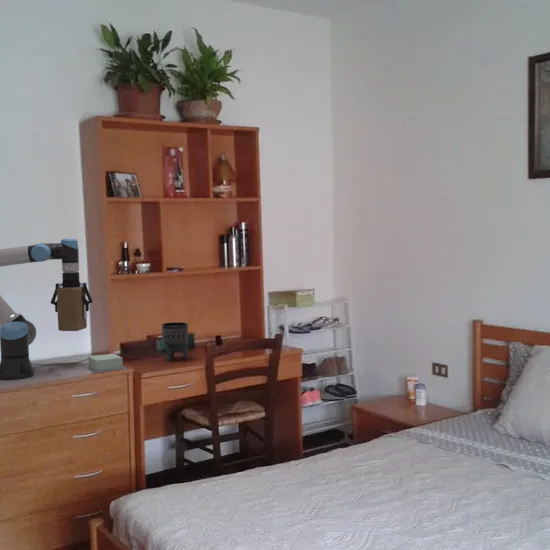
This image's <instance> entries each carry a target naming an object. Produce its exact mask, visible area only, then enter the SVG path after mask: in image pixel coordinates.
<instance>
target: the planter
mask: <svg viewBox="0 0 550 550" xmlns="http://www.w3.org/2000/svg"><path fill="white" fill-rule="evenodd" d="M161 335H162V336H161V338H162V344H163V346H166V348H165V349H166V362H168V363H169V362H171V359H173V358H174V357H175V354H174V353H175V349H178V350H180V352H181V353H182V354H183V360H184V361H187V360H188V341H189V323H187V322H180V321H179V322H176V321H175V322H174V321H172V322H165V323H162V324H161Z"/></svg>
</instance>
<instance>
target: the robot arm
mask: <svg viewBox="0 0 550 550" xmlns="http://www.w3.org/2000/svg"><path fill="white" fill-rule="evenodd" d="M79 257H80V256H79V243H78V239H77V238H62V239H61V240H60V242H58V243H54V242H53V243H50V242H49V243H45V242H43V243H41V242H40V243H35V244H32V245H25V246H24V245H23V246H16V247H8V248H1V249H0V268H1V267H7V266H15V265H22V264H23V265H25V264H29V263H38V262H40V263H42V262H46V261H49V260H51V261H52V260H54V261H55V260H61V270H62V277H61V278H62V282H61V283H60V282H59V283H58V282H57V283H55V289H54V292H53V295H52V298H51V300H50V304H51V305H54V311H55V313H57V314H58V305H57V289H58V288H61V287H65V288H68V287H80V286H82V287H83V288H84V291H85V293H86V298H85V296H83V295H82V300H83V301H84V303H85V304H84V319H87V318H88V312H89V310H90V306H89V305H90V304H92V303H93V301H94V300H93V299H92V296H91V293H90V291H89V289H88V285H87V284H88V283H87V282H80V272H79V271H80V260H79V259H80V258H79ZM36 336H37V328H36V326H35V325H34V323H32V322H31V321H30V320H28V319H26V318H25V317H24V315H23V314H21V313H18V312H15V311H14V309H13V308H12V307H11V306H10V305H9V303H8V302H7V301H6V300H5V299H4V298H3V297H2V295H0V380H21V379H25V378H26V379H27V378H30V377H33V376H34V374H35V372H34V368H33V365H32V362H31V359H30V353H29V351H30V349H29V346H30V345H31V344H32V343H33V342H34V341H35V339H36Z"/></svg>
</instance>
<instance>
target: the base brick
mask: <svg viewBox="0 0 550 550" xmlns="http://www.w3.org/2000/svg"><path fill="white" fill-rule="evenodd" d="M88 366H89V367H90V368H91V369H93V370H95V371H97V372H98V371H106V370H114V369H122V368H123V366H124V365H123V357H122V356H119V355H117V354H115V353H108V354H99V355H89V356H88Z"/></svg>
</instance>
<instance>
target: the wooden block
mask: <svg viewBox="0 0 550 550" xmlns="http://www.w3.org/2000/svg"><path fill="white" fill-rule="evenodd" d="M82 295H83V296H85V298H86V299H87V296H86V293H85V291H84V288H83V287H82V286H81V285H80V287H68V288H65V287H62V286H61V287H60V288H58V289H57V296H56V301H57V305H58V313H57V324H58V325H57V326H58V327H57V328H58V331H60V332H79V331H82V330H84V329H86V328H87V327H88V324H87V323H88V321H87V318H86V319H84V304H85V303H84V301H83V300H82Z"/></svg>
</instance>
